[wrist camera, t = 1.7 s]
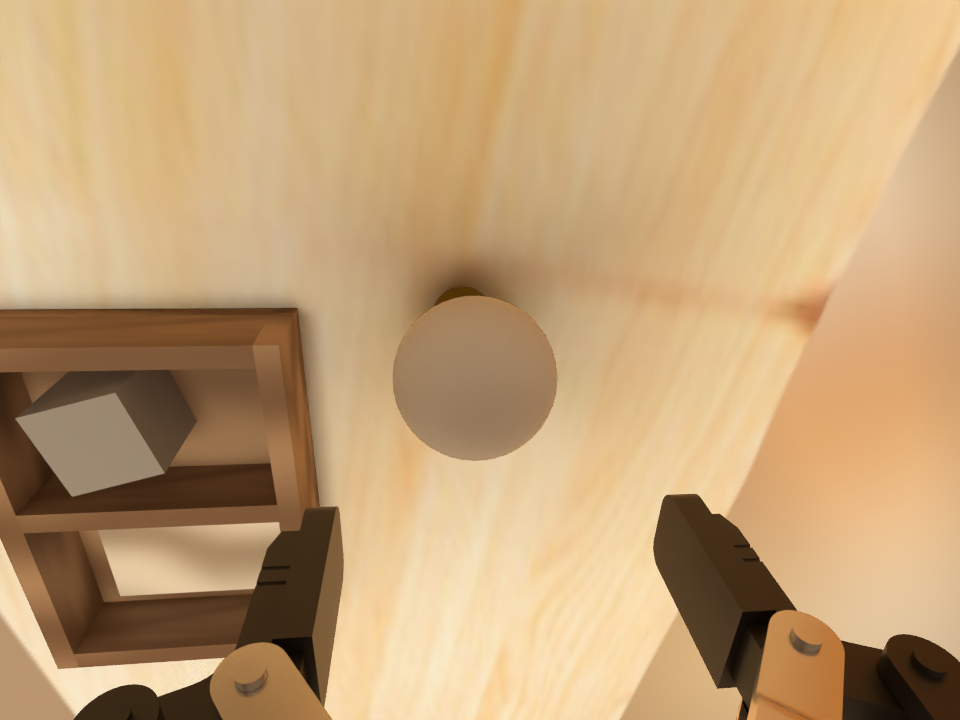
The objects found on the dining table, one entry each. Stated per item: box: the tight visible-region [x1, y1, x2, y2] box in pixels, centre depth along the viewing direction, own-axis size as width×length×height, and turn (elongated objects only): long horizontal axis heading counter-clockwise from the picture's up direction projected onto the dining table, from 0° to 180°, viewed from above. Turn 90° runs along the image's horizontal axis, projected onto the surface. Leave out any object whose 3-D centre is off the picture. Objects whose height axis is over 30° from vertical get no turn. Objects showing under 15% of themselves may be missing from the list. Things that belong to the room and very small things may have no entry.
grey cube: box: [15, 370, 197, 497], centre depth 25 cm, size 4×4×4 cm
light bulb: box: [393, 287, 557, 461], centre depth 23 cm, size 6×6×10 cm
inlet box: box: [0, 308, 320, 669], centre depth 28 cm, size 18×13×4 cm
